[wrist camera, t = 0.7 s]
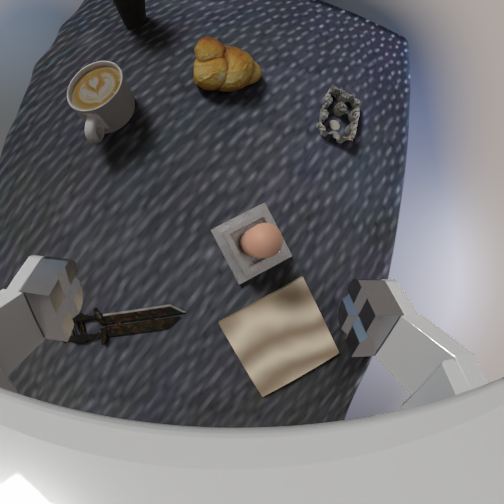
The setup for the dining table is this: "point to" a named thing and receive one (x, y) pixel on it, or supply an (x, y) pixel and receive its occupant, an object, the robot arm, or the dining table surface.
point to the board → (280, 336)
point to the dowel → (261, 241)
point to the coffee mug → (101, 99)
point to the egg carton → (339, 114)
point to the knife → (126, 316)
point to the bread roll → (223, 67)
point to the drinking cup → (131, 12)
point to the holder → (229, 244)
